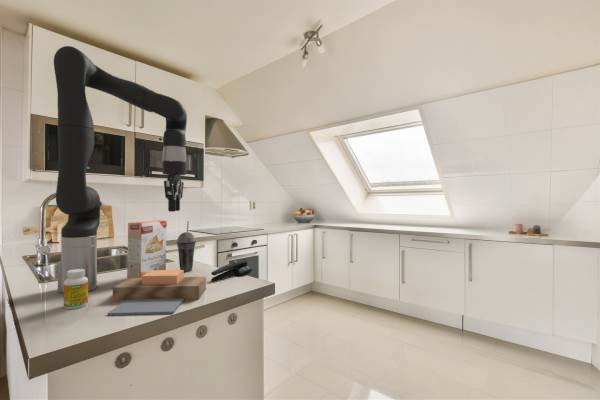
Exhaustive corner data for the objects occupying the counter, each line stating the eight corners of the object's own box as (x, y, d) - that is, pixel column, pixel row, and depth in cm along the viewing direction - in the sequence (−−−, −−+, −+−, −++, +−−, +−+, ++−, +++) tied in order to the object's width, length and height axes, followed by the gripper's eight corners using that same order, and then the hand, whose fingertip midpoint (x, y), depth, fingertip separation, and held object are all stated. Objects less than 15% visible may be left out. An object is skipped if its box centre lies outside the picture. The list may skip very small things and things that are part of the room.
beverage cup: (172, 272, 119) (173, 221, 119) (182, 268, 127) (183, 220, 126) (189, 273, 118) (190, 222, 118) (199, 269, 125) (199, 220, 125)
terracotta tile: (141, 284, 90) (141, 276, 90) (151, 278, 97) (151, 270, 97) (176, 283, 91) (176, 275, 91) (183, 277, 98) (183, 269, 98)
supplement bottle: (68, 311, 79) (68, 274, 79) (60, 306, 82) (60, 271, 82) (91, 304, 84) (91, 269, 83) (82, 301, 86) (82, 267, 86)
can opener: (242, 271, 124) (242, 257, 124) (254, 273, 120) (254, 259, 120) (205, 280, 110) (205, 265, 110) (217, 284, 105) (217, 268, 105)
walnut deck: (112, 301, 87) (112, 287, 86) (128, 290, 96) (128, 277, 96) (198, 299, 89) (198, 285, 89) (205, 289, 99) (206, 276, 99)
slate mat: (107, 315, 76) (107, 313, 76) (126, 301, 86) (126, 299, 86) (173, 313, 78) (173, 311, 78) (184, 300, 88) (184, 298, 88)
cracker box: (141, 283, 104) (141, 223, 104) (126, 282, 105) (126, 222, 105) (167, 273, 118) (167, 220, 117) (153, 272, 119) (153, 219, 119)
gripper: (170, 162, 110) (169, 210, 110) (155, 158, 96) (154, 212, 96) (191, 163, 110) (190, 210, 111) (179, 158, 96) (179, 212, 97)
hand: (174, 210), depth 103 cm, fingers open, 4 cm apart
